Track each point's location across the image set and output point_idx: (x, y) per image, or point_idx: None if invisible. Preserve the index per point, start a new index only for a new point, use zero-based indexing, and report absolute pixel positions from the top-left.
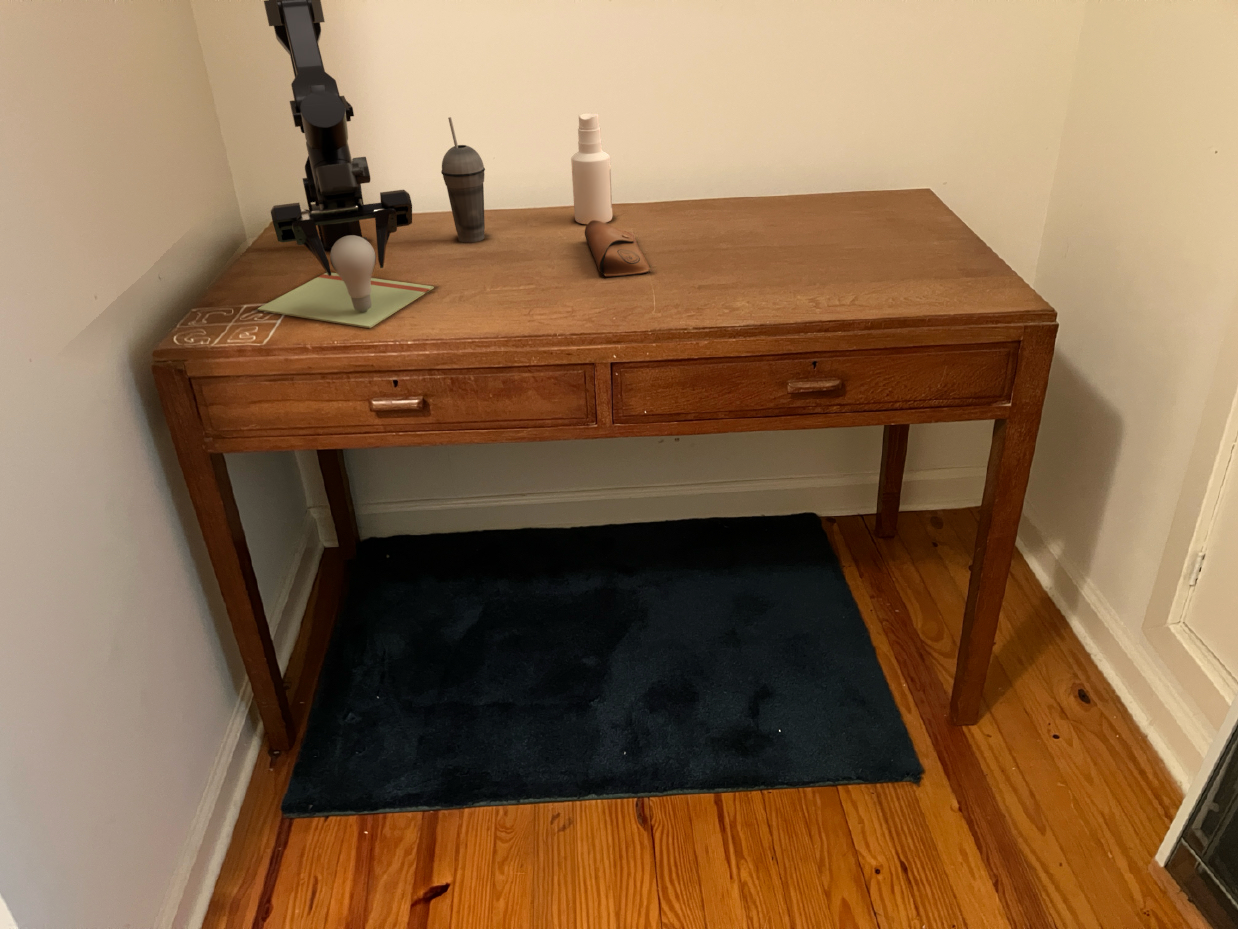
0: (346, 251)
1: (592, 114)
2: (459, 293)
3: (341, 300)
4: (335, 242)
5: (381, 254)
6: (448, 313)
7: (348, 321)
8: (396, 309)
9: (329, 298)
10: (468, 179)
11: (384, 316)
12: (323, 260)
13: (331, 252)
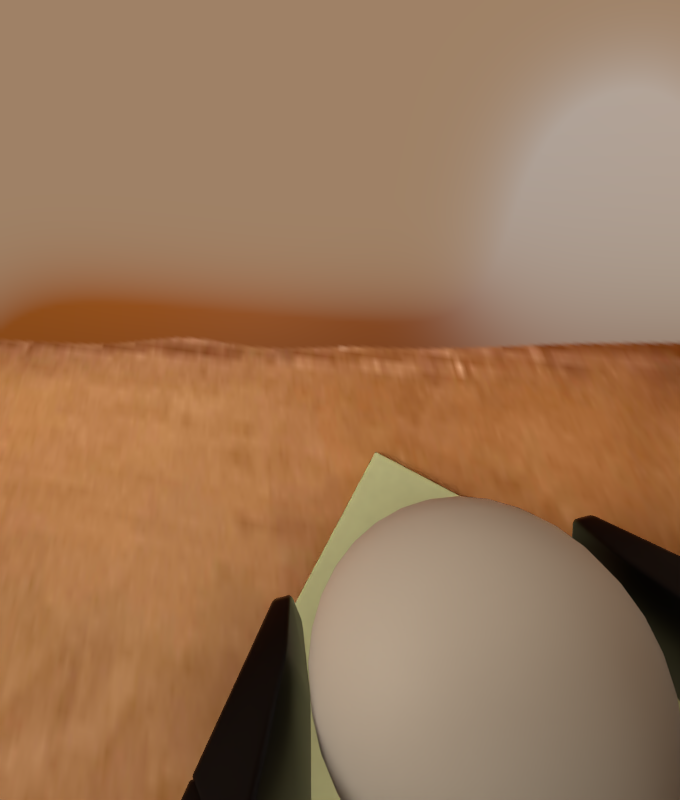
0: (492, 525)
1: None
2: (64, 755)
3: None
4: (669, 726)
5: (262, 653)
6: (130, 538)
7: None
8: (300, 595)
9: None
10: None
11: (336, 531)
12: (666, 558)
13: (641, 612)
